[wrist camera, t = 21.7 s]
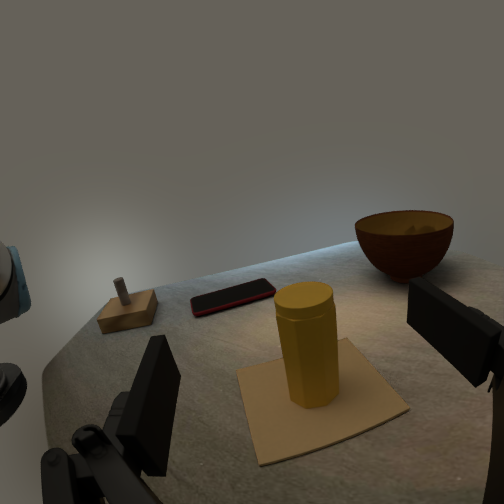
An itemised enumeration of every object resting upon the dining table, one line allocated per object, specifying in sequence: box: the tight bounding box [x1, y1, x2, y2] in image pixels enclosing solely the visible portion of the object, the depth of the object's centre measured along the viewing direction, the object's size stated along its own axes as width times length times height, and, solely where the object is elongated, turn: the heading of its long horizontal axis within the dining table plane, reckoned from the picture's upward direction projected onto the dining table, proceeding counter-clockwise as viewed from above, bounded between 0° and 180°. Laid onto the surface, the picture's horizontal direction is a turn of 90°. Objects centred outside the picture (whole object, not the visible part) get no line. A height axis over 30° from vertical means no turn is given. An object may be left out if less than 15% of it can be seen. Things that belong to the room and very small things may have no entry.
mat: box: [236, 338, 410, 466], centre depth 26 cm, size 14×14×1 cm
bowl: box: [355, 210, 454, 283], centre depth 45 cm, size 18×18×10 cm
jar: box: [274, 282, 339, 409], centre depth 25 cm, size 5×5×11 cm
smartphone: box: [190, 278, 276, 316], centre depth 52 cm, size 7×1×15 cm
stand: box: [97, 277, 158, 334], centre depth 51 cm, size 10×10×8 cm
